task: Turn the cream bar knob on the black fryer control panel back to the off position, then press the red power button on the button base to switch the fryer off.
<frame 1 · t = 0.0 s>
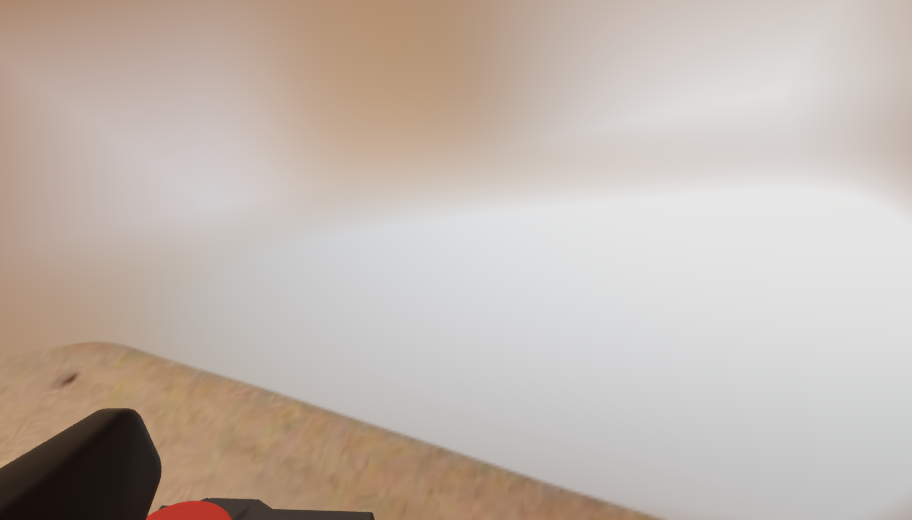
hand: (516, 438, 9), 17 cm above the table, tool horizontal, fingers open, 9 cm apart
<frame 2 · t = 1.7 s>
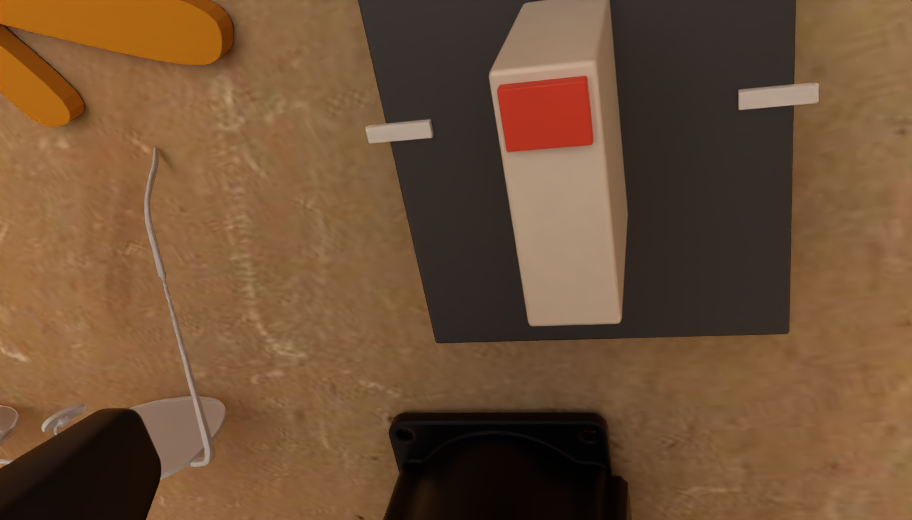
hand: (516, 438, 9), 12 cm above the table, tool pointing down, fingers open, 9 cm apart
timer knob: (569, 158, 15), point 5 cm above the table, hinge at 90.0°
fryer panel: (588, 64, 19), on the table
sunglasses: (49, 286, 27), on the table
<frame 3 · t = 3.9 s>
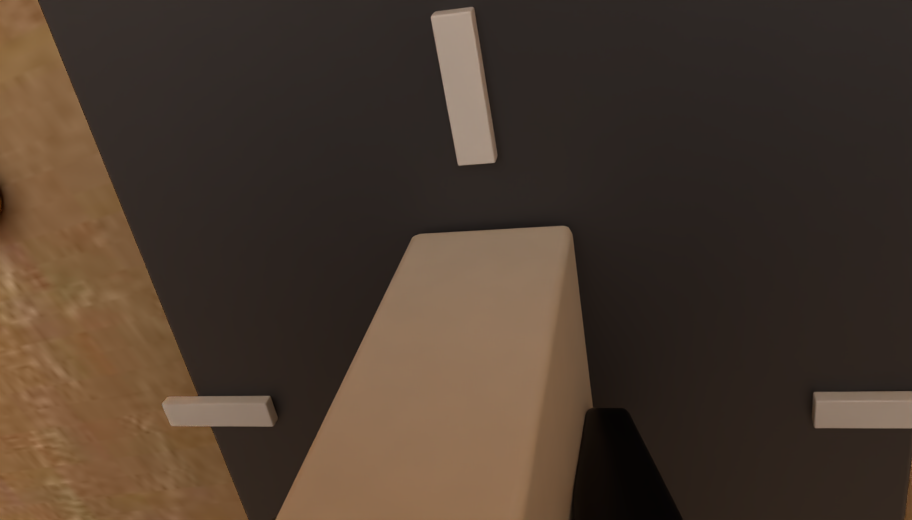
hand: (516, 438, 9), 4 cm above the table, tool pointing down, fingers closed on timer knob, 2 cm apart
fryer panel: (549, 265, 12), on the table
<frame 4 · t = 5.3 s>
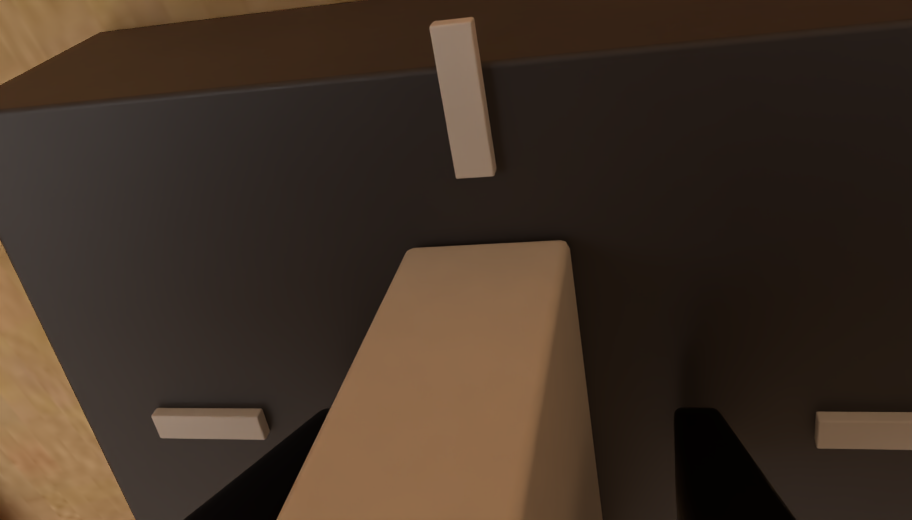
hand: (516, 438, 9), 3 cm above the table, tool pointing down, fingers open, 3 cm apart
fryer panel: (547, 276, 12), on the table
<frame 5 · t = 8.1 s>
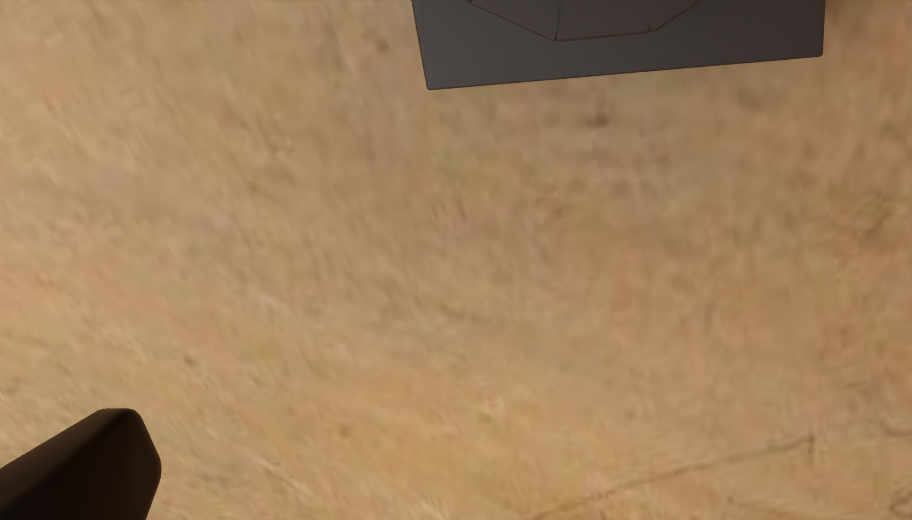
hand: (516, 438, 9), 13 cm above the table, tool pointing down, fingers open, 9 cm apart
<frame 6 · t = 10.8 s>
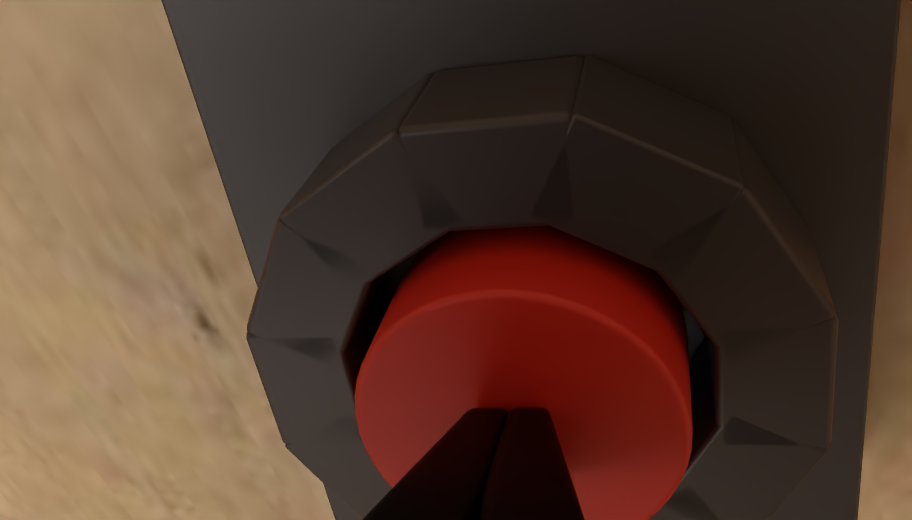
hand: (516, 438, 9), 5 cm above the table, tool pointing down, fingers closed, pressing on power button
button base: (558, 222, 13), on the table
power button: (526, 383, 10), point 4 cm above the table, slide at -0.5 cm, touching gripper
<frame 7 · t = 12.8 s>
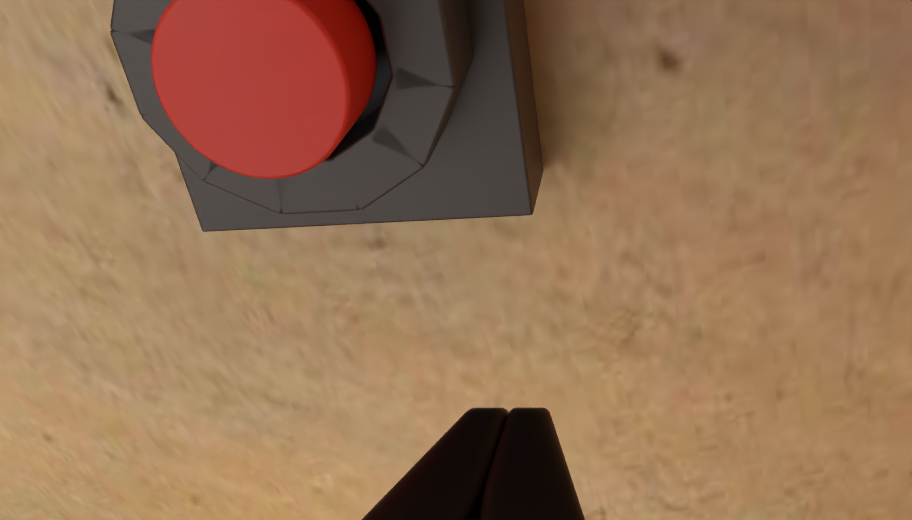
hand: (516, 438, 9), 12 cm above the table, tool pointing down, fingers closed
button base: (343, 0, 19), on the table
power button: (267, 68, 15), point 5 cm above the table, slide at 0.2 cm
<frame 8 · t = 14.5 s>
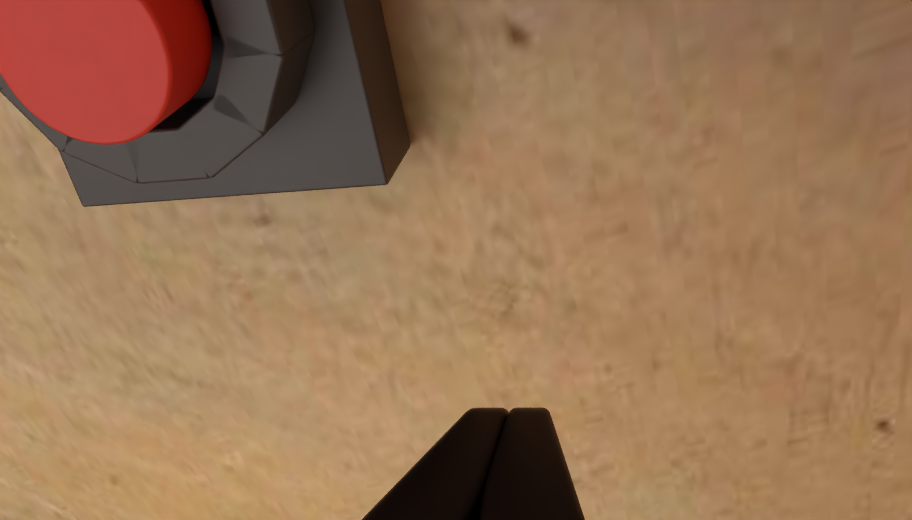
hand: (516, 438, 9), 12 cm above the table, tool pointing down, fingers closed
power button: (103, 38, 16), point 5 cm above the table, slide at 0.2 cm
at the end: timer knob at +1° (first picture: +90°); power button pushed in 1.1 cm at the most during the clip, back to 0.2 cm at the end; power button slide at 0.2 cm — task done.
